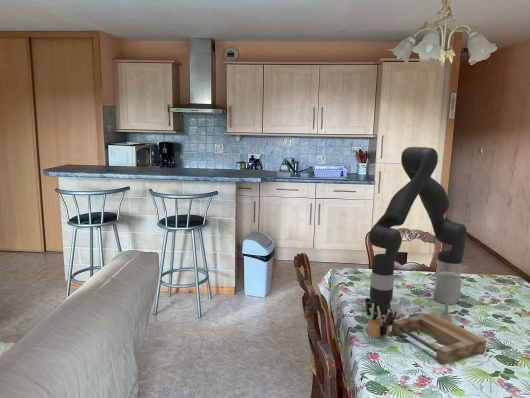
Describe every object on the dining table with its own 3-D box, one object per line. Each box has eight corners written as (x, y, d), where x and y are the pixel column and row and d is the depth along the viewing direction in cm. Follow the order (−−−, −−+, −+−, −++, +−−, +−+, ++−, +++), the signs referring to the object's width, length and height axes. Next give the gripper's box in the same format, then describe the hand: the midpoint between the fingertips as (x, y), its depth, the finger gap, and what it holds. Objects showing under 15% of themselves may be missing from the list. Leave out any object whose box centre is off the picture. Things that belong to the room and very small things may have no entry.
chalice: (455, 318, 157) (459, 273, 154) (456, 326, 150) (462, 279, 147) (434, 315, 159) (438, 270, 156) (435, 323, 153) (439, 276, 150)
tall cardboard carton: (381, 329, 147) (382, 317, 146) (388, 334, 143) (389, 322, 142) (367, 332, 144) (368, 320, 143) (375, 337, 141) (376, 325, 140)
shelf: (431, 322, 153) (432, 312, 152) (484, 351, 133) (486, 340, 133) (391, 332, 145) (392, 321, 144) (442, 364, 125) (443, 352, 125)
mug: (395, 321, 153) (396, 306, 152) (370, 314, 159) (371, 299, 158) (405, 310, 163) (406, 296, 162) (381, 304, 168) (382, 290, 167)
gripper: (405, 290, 136) (401, 339, 139) (376, 276, 149) (373, 321, 151) (387, 294, 133) (383, 344, 136) (359, 279, 145) (356, 325, 148)
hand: (378, 332), depth 144 cm, fingers closed on tall cardboard carton, 4 cm apart
